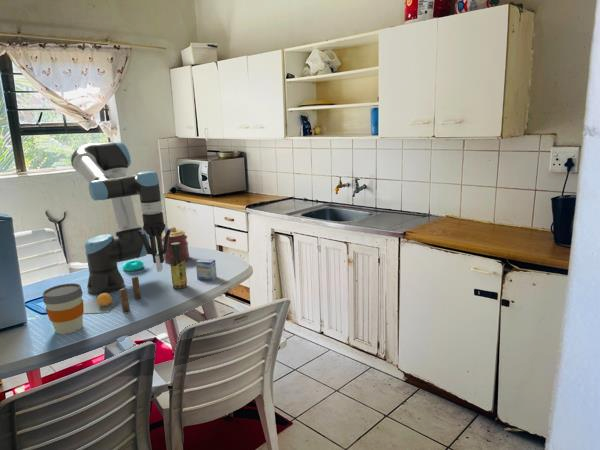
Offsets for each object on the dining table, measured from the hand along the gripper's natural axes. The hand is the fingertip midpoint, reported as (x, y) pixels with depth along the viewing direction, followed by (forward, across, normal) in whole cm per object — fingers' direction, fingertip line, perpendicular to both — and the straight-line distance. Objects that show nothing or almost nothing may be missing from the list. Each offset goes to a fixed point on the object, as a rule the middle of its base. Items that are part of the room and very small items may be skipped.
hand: (160, 270), depth 176 cm
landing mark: (+14, -27, 0) cm, 30 cm away
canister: (+14, -10, +56) cm, 59 cm away
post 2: (+14, -13, +6) cm, 20 cm away
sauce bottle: (+14, +2, +17) cm, 22 cm away
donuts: (+14, -29, +45) cm, 55 cm away
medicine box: (+14, +12, +26) cm, 32 cm away
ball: (+11, -24, 0) cm, 26 cm away
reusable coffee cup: (+14, -29, -19) cm, 37 cm away
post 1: (+14, -13, -6) cm, 20 cm away
